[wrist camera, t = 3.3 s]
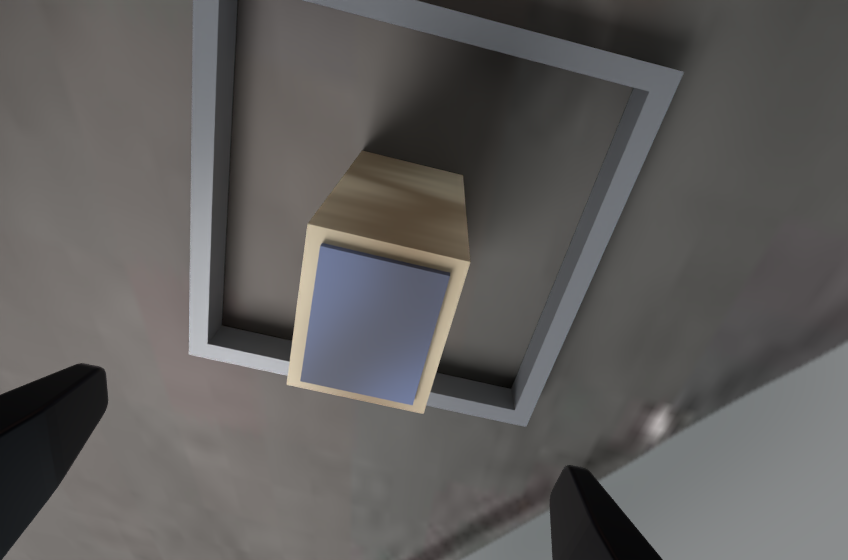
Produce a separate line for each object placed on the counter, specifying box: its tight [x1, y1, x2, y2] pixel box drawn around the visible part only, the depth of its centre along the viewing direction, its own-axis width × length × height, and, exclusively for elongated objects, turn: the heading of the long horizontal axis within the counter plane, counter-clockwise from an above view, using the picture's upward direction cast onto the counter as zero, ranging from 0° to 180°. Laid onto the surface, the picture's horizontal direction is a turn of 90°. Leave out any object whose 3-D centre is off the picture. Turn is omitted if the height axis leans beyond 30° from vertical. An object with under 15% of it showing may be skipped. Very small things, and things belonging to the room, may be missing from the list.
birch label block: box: [287, 151, 470, 414], centre depth 16 cm, size 4×5×8 cm
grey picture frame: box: [189, 0, 684, 427], centre depth 19 cm, size 16×16×2 cm
